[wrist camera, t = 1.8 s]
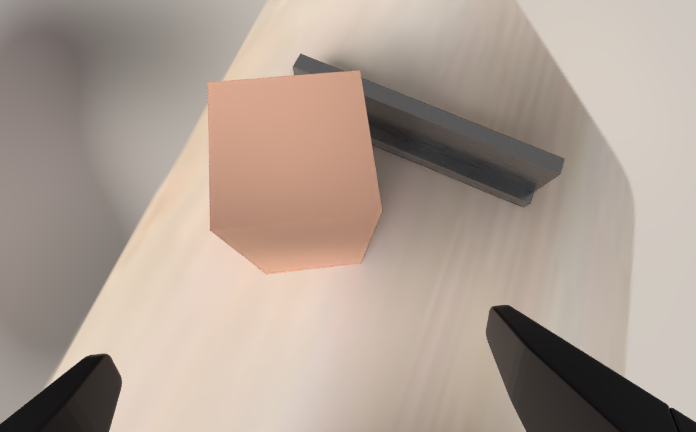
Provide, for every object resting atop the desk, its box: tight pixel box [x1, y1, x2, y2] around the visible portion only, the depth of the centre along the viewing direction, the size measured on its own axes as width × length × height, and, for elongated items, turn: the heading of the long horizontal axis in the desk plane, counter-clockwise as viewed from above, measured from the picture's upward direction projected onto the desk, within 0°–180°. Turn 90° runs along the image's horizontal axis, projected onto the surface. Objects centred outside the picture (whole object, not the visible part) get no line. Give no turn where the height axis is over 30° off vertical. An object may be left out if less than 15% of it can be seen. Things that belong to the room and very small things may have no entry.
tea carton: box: [208, 70, 382, 274], centre depth 17 cm, size 6×6×10 cm
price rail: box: [293, 54, 564, 207], centre depth 22 cm, size 2×16×4 cm, turn 66°
